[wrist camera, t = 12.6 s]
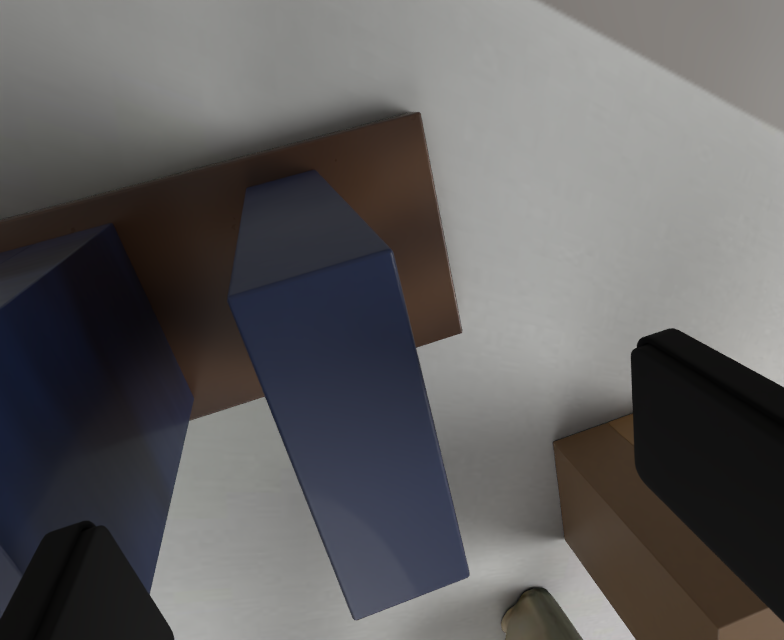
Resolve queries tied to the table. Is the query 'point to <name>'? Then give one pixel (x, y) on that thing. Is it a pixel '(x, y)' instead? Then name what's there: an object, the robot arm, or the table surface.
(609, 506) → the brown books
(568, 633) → the grey-green rounded box
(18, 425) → the blue bookends on base
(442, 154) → the table surface
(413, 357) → the navy book
